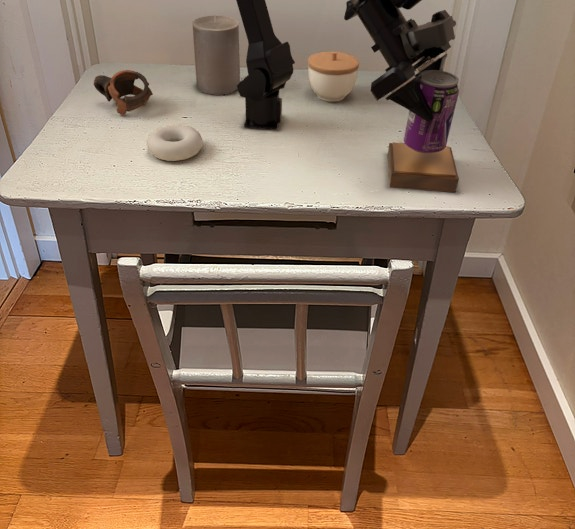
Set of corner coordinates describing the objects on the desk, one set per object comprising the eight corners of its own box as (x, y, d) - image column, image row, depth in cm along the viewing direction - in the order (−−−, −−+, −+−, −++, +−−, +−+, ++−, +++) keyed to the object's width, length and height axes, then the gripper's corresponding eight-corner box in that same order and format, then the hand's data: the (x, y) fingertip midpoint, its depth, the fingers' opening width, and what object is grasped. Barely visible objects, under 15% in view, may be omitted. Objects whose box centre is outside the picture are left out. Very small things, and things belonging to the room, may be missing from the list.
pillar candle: (193, 79, 129) (188, 10, 119) (236, 76, 131) (233, 7, 121) (200, 97, 121) (195, 24, 112) (245, 93, 124) (243, 21, 114)
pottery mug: (156, 97, 122) (157, 72, 114) (145, 133, 118) (145, 109, 111) (100, 81, 120) (97, 54, 113) (86, 117, 116) (82, 91, 109)
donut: (141, 145, 105) (157, 169, 98) (138, 127, 103) (154, 151, 96) (192, 134, 109) (211, 157, 102) (190, 117, 106) (210, 139, 99)
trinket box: (337, 82, 129) (341, 40, 123) (365, 100, 122) (370, 56, 116) (297, 91, 125) (298, 48, 119) (323, 110, 118) (326, 65, 112)
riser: (389, 187, 95) (392, 171, 93) (387, 155, 104) (389, 140, 102) (455, 192, 95) (459, 176, 93) (448, 159, 103) (451, 145, 101)
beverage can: (436, 161, 92) (452, 90, 85) (396, 148, 95) (408, 79, 87) (450, 144, 97) (467, 75, 89) (412, 132, 100) (425, 65, 92)
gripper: (402, 10, 77) (461, 108, 79) (451, -18, 89) (501, 68, 91) (345, 55, 85) (400, 143, 87) (397, 24, 97) (444, 102, 100)
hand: (439, 112), depth 91 cm, fingers closed on beverage can, 7 cm apart
